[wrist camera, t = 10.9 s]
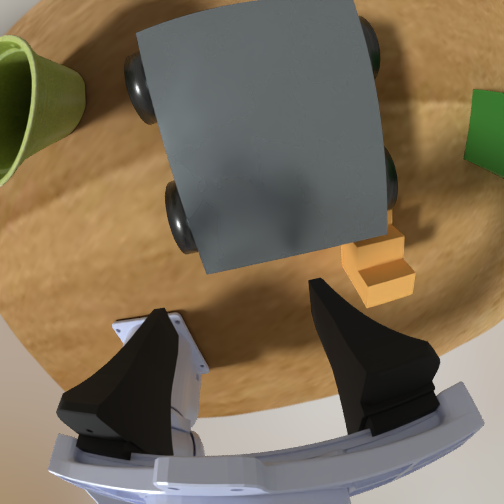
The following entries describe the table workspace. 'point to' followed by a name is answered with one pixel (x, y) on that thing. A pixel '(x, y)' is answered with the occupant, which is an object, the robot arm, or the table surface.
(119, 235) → the table surface
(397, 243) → the orange stepped block
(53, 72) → the plant pot
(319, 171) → the trolley
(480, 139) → the hardback book
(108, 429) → the robot arm
